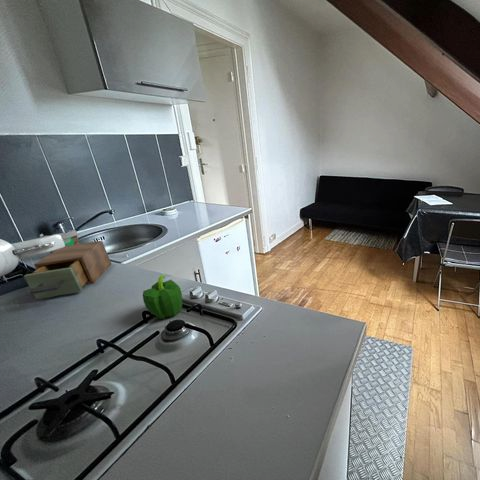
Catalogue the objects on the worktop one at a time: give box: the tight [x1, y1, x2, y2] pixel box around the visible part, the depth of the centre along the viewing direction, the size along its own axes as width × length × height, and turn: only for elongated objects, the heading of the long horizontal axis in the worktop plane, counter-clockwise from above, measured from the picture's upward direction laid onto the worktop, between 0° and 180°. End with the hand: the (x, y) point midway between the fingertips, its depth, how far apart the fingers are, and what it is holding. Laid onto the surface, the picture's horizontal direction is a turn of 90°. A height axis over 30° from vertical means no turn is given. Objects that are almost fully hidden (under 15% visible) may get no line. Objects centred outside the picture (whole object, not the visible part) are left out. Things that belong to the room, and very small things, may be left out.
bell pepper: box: [142, 274, 183, 320], centre depth 66 cm, size 8×8×10 cm
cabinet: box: [33, 240, 112, 286], centre depth 88 cm, size 15×12×10 cm
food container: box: [38, 229, 80, 254], centre depth 105 cm, size 12×6×10 cm, turn 105°
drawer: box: [23, 260, 89, 300], centre depth 80 cm, size 18×11×8 cm, turn 18°
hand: (23, 248), depth 67 cm, fingers open, 8 cm apart
